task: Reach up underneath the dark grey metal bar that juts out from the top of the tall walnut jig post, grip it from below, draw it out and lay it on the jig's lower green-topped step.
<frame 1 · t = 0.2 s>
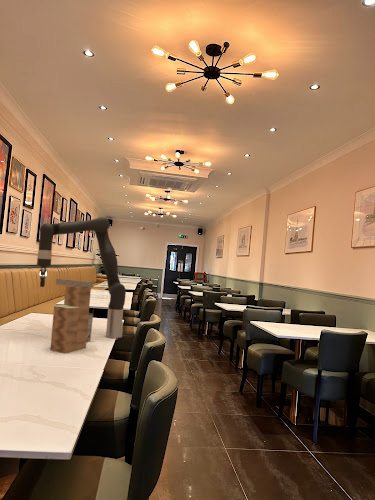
hand: (42, 286, 205), 29 cm above the table, tool pointing down, fingers open, 8 cm apart
bar: (73, 285, 190), point 32 cm above the table, touching jig
coffee box: (81, 341, 204), on the table
jig: (73, 347, 187), on the table
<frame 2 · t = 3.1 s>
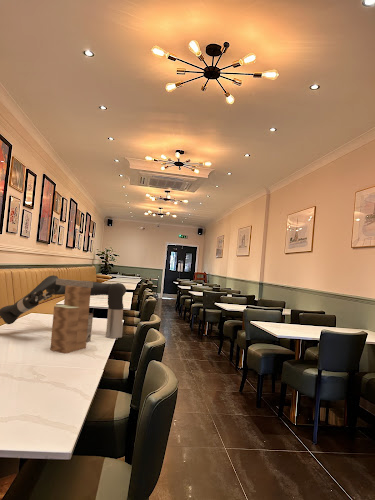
hand: (48, 291, 196), 28 cm above the table, tool pointing upward, fingers open, 8 cm apart
nothing on the table moved.
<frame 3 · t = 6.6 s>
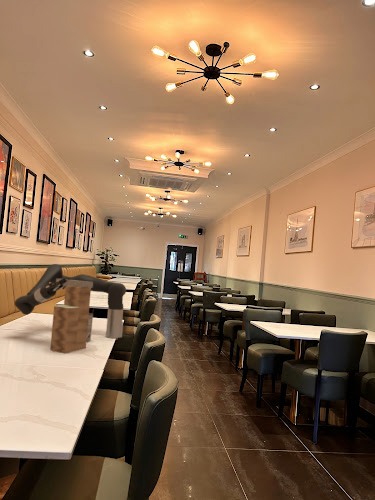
hand: (67, 279, 192), 35 cm above the table, tool pointing upward, fingers closed on bar, 3 cm apart
bar: (73, 285, 190), point 32 cm above the table, touching gripper, jig
everything else where it was.
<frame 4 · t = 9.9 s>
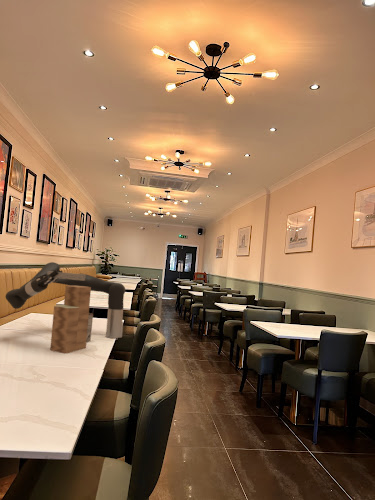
hand: (59, 272, 185), 39 cm above the table, tool pointing upward, fingers closed on bar, 3 cm apart
bar: (65, 278, 183), point 36 cm above the table, touching gripper
everything else where it was.
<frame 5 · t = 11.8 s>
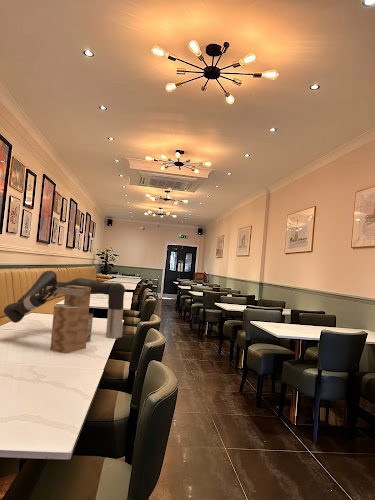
hand: (58, 287, 184), 31 cm above the table, tool pointing upward, fingers closed on bar, 3 cm apart
bar: (64, 293, 182), point 28 cm above the table, touching gripper
everything else where it was.
when the fingers open (26 cm above the table, at t = 13.3 s): bar drops 1 cm, resting on jig.
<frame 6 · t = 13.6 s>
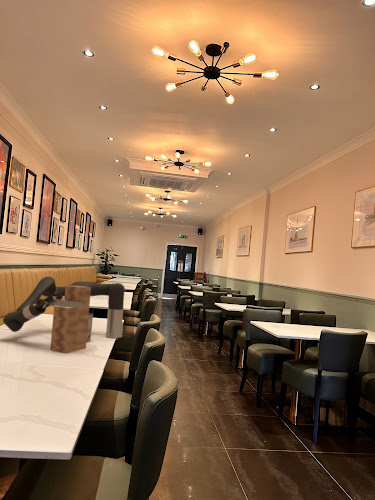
hand: (56, 296, 184), 26 cm above the table, tool pointing upward, fingers open, 6 cm apart
bar: (63, 306, 182), point 22 cm above the table, touching jig
everything else where it was.
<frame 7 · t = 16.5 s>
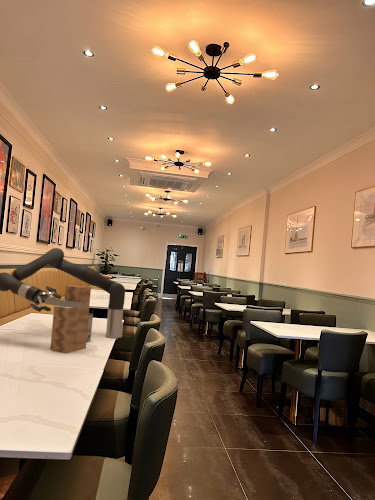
hand: (55, 303, 187), 22 cm above the table, tool tilted 75°, fingers open, 8 cm apart
nothing on the table moved.
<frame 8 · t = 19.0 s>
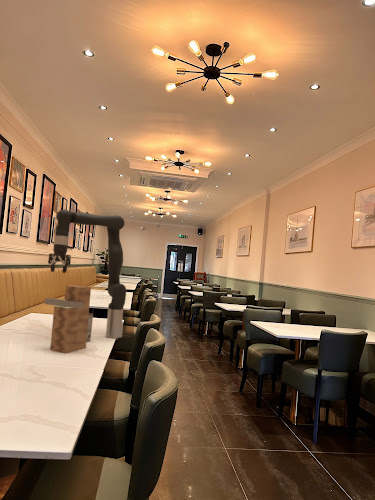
hand: (58, 272, 205), 38 cm above the table, tool pointing down, fingers open, 8 cm apart
nothing on the table moved.
at the end: bar inside the target area (0.5 cm from its centre), point 22.0 cm above the table; bar touching jig; the gripper is holding nothing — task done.
